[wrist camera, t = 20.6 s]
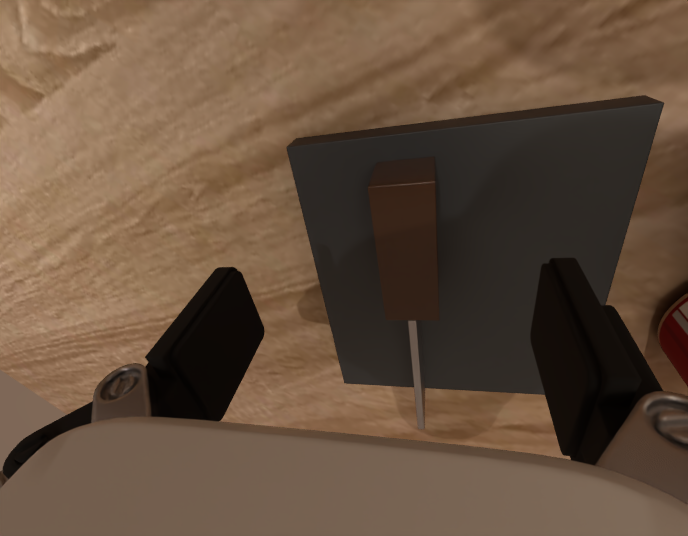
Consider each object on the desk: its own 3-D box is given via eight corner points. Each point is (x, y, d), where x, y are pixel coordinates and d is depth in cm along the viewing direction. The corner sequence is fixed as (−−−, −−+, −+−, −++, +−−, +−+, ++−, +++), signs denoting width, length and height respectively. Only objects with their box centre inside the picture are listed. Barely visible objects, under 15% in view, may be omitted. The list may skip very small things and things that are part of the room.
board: (295, 138, 18) (286, 146, 17) (645, 95, 15) (664, 102, 13) (348, 367, 28) (344, 383, 26) (571, 377, 24) (578, 397, 22)
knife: (376, 161, 17) (366, 186, 14) (434, 155, 16) (435, 180, 14) (403, 388, 25) (400, 427, 23) (441, 390, 25) (443, 431, 22)
